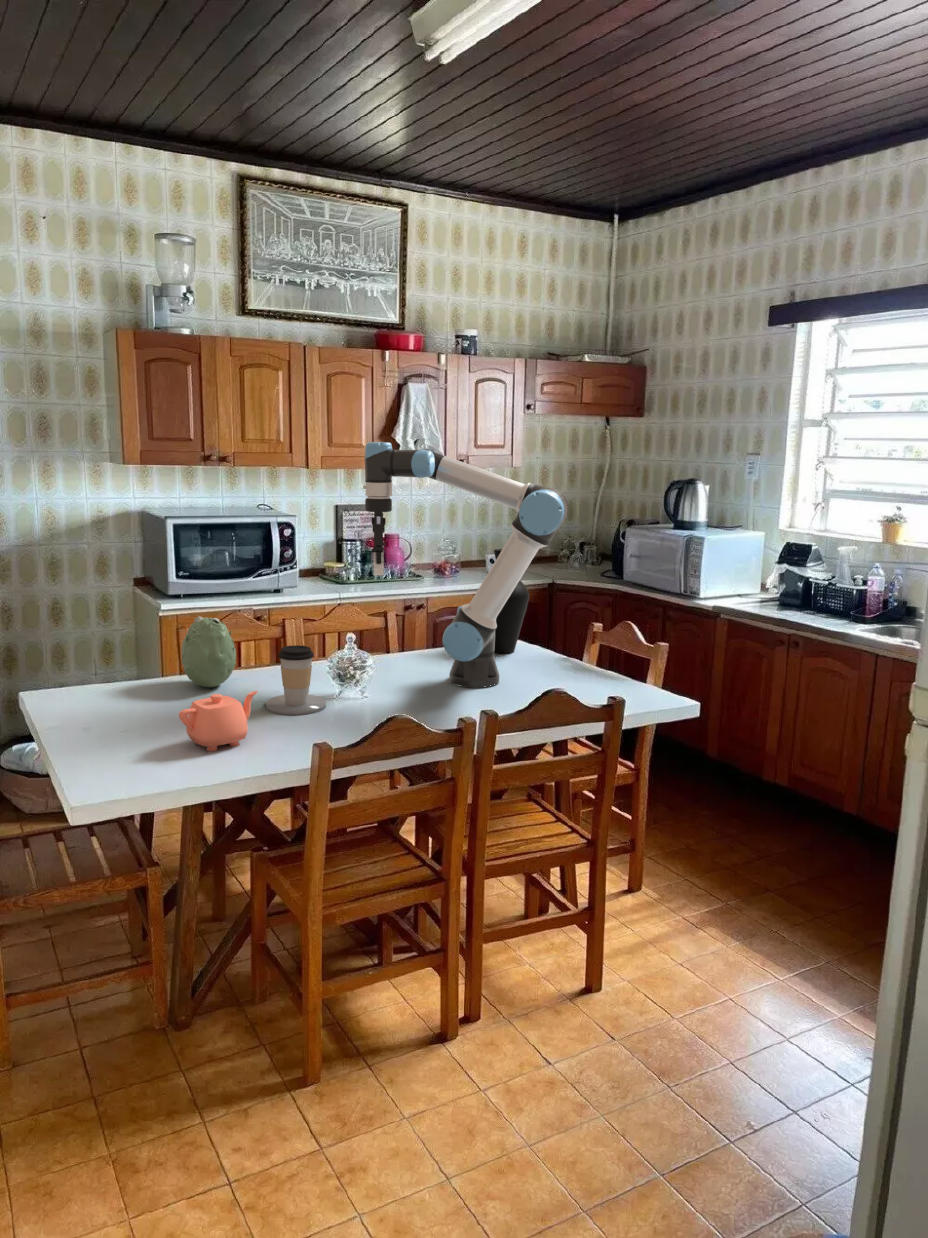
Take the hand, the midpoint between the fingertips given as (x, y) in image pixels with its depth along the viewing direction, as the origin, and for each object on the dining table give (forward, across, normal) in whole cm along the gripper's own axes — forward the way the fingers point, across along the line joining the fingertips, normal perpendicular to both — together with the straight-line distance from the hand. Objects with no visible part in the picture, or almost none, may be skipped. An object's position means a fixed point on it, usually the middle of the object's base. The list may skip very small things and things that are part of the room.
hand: (378, 571), depth 264 cm
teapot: (+34, +51, -37) cm, 71 cm away
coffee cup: (+33, +21, -22) cm, 45 cm away
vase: (+34, -44, +42) cm, 70 cm away
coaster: (+34, +21, -22) cm, 46 cm away
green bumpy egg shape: (+33, +2, -49) cm, 59 cm away
